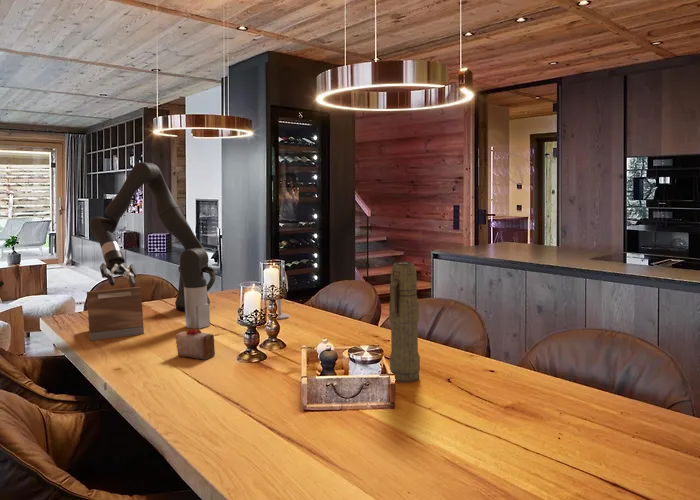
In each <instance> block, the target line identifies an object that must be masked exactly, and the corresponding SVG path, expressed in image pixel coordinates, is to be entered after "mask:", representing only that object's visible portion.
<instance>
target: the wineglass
mask: <svg viewBox="0 0 700 500" xmlns="http://www.w3.org/2000/svg"><path fill="white" fill-rule="evenodd" d="M285 284H286V289H287V291H288V290H289V286H288V285H289V284H288V276H287V273H286V272H285ZM282 300H283V299H280V300H276V301H277V310H278V311H277V314H278V318H277V319H276V320H284V319H289V318H290V315H291V314H289V313H285V312H284V313H282Z"/></svg>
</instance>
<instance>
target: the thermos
mask: <svg viewBox="0 0 700 500" xmlns="http://www.w3.org/2000/svg"><path fill="white" fill-rule="evenodd" d="M417 280H418V278H417V270H416V266H415V264H414V263H412V262H410V261H397V262H395V263H393V264H392V267H391V271H390V284H389V297H390V298H389V303H388V304H389V305H388V313H389V315H388V317H389V319H388V320H389V322H390V332H391V334H390V336H391V338H390V339H391V344H390V345H391V348H390V349H391V352H390V355H389V370H390V373H391V372H392V373H393V374H394V375H395V379H396V381H395V382H397V383H414V382H416V381H419V380H420V370H421V363H420V362H421V357H420V353H419V343H418V341H419V340H418V338H419V337H418V336H419V335H418V332H419V331H418V329H419V328H418V327H419V326H418V324H419V321H420V306H419V305H420V301H419V299H418V295H417V294H418V293H417V292H418V291H417V289H418V288H417V287H418V286H417V282H418V281H417Z"/></svg>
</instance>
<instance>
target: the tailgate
mask: <svg viewBox="0 0 700 500" xmlns="http://www.w3.org/2000/svg"><path fill="white" fill-rule="evenodd" d="M142 296H143V295H142V287H141V286H136V287H135V286H132V287H124V288H123V287H122V288H115V289H101V290H91V291H90V290H89V291H86V301H87V302H86V303H87V314H88V315H87V316H88V317H89V322H88V332H89V331H90V333H91V332H99V331H108V330H116V329H125V328H133V327H141V326H143V327H144V313H143V297H142ZM88 317H87V318H88Z"/></svg>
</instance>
